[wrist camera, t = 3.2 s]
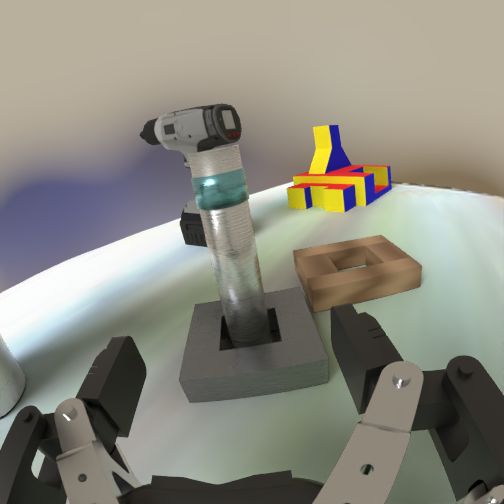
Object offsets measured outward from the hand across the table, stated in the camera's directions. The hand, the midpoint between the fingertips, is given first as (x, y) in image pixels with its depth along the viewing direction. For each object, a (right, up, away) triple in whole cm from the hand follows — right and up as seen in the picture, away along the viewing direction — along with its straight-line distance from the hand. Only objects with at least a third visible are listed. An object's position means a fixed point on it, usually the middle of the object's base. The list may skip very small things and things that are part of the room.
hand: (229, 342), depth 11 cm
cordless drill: (-9, +6, +44) cm, 45 cm away
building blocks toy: (+23, +17, +58) cm, 64 cm away
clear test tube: (+1, -5, +12) cm, 13 cm away
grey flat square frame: (+1, -5, +12) cm, 13 cm away
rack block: (+12, +1, +20) cm, 24 cm away
